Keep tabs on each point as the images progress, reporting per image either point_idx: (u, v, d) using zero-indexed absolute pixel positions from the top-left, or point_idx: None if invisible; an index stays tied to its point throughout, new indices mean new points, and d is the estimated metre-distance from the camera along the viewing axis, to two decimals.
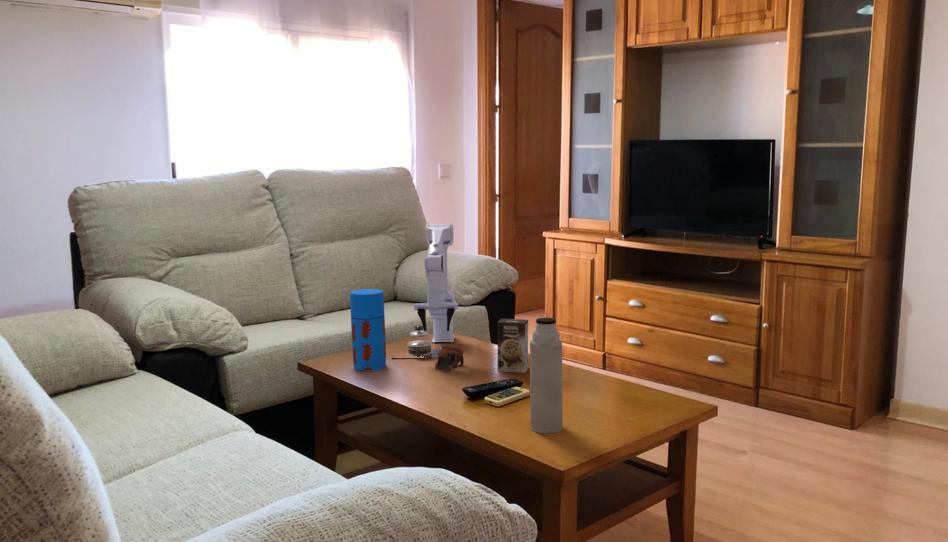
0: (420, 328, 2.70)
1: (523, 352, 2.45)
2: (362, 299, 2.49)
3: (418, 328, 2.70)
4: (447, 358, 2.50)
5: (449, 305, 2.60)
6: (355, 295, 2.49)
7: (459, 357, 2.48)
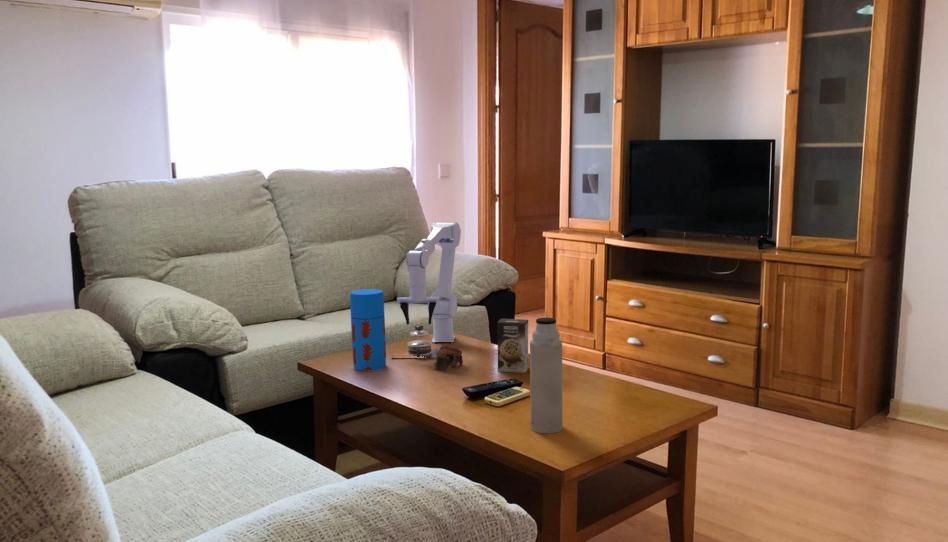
0: (420, 328, 2.70)
1: (523, 352, 2.45)
2: (362, 299, 2.49)
3: (418, 328, 2.70)
4: (446, 358, 2.50)
5: (431, 299, 2.69)
6: (355, 295, 2.49)
7: (458, 357, 2.48)
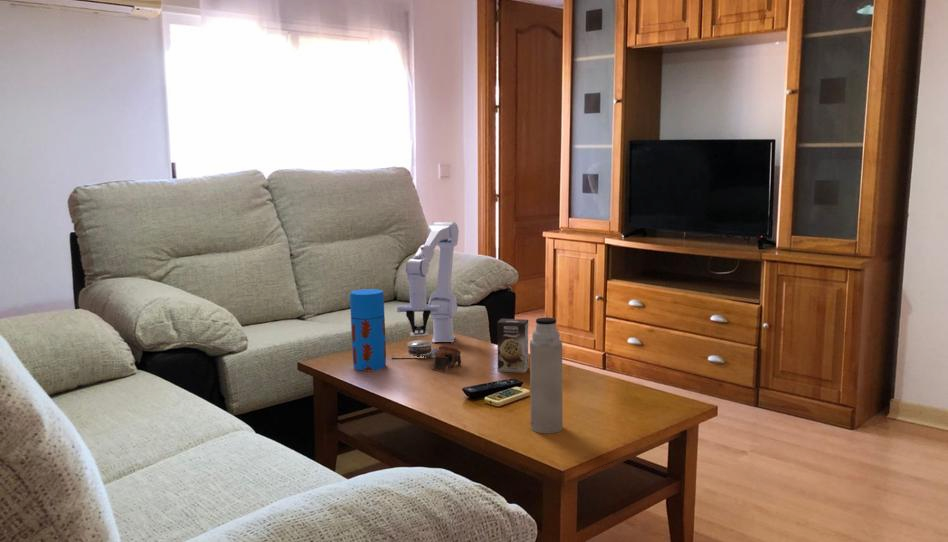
0: (420, 328, 2.70)
1: (523, 352, 2.45)
2: (362, 299, 2.49)
3: (418, 328, 2.70)
4: (444, 358, 2.50)
5: (431, 307, 2.69)
6: (355, 295, 2.49)
7: (456, 357, 2.48)
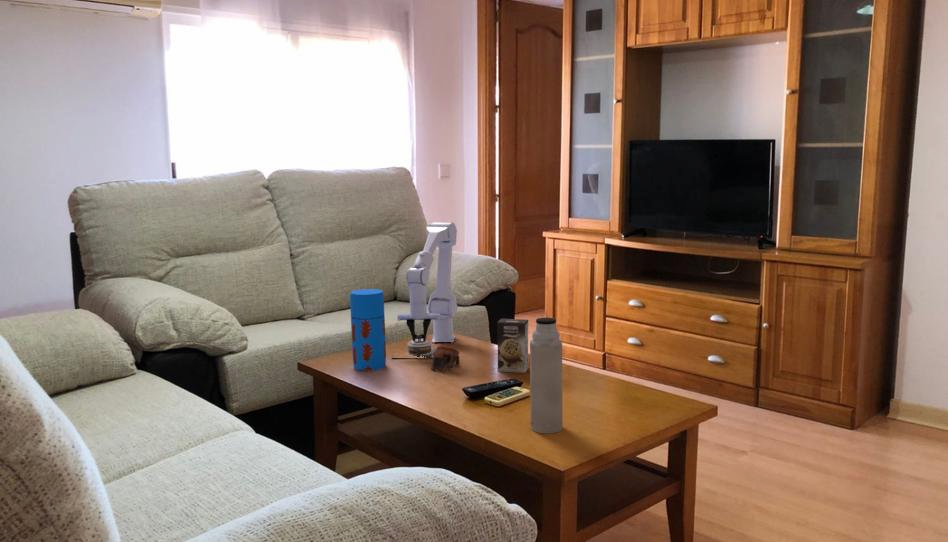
0: (420, 336, 2.70)
1: (523, 352, 2.45)
2: (362, 299, 2.49)
3: (418, 336, 2.70)
4: (443, 358, 2.50)
5: (431, 316, 2.69)
6: (355, 295, 2.49)
7: (455, 357, 2.48)
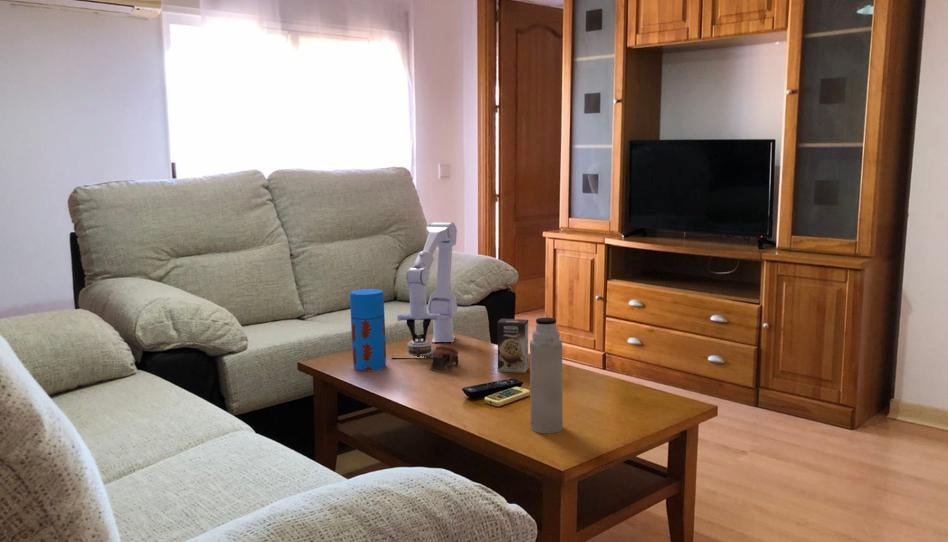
0: (420, 336, 2.70)
1: (523, 352, 2.45)
2: (362, 299, 2.49)
3: (418, 336, 2.70)
4: (442, 358, 2.50)
5: (431, 316, 2.69)
6: (355, 295, 2.49)
7: (454, 357, 2.48)
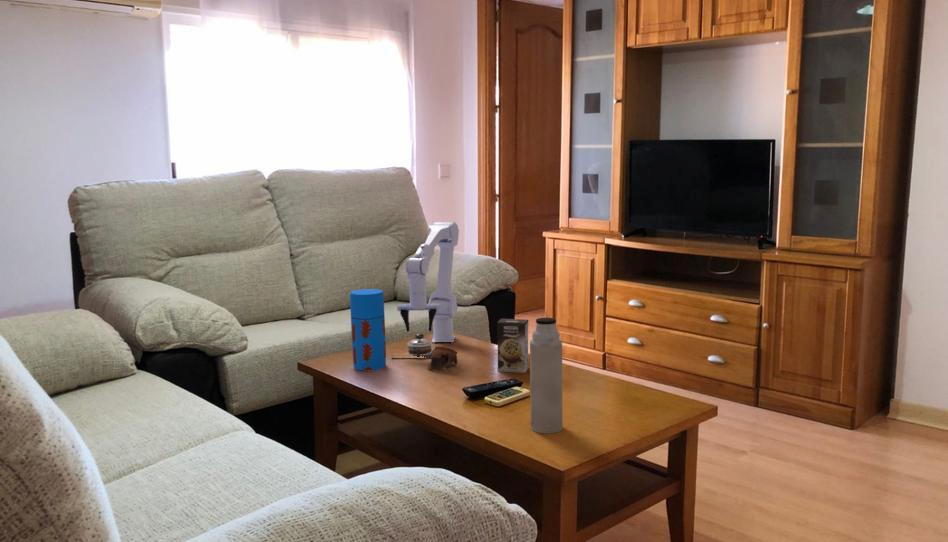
0: (420, 336, 2.70)
1: (523, 352, 2.45)
2: (362, 299, 2.49)
3: (418, 336, 2.70)
4: (441, 358, 2.50)
5: (431, 306, 2.69)
6: (355, 295, 2.49)
7: (453, 357, 2.48)
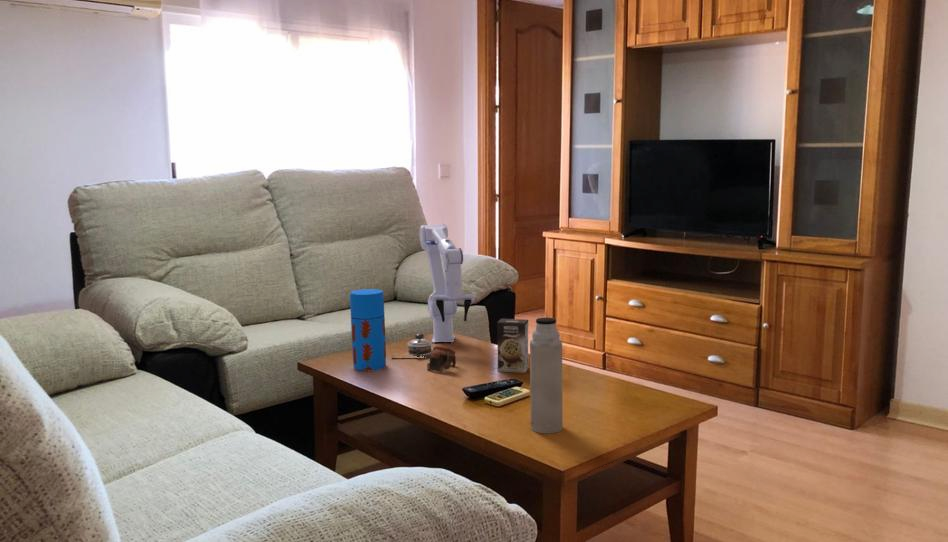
0: (420, 336, 2.70)
1: (523, 352, 2.45)
2: (362, 299, 2.49)
3: (418, 336, 2.70)
4: (439, 358, 2.50)
5: (466, 296, 2.73)
6: (355, 295, 2.49)
7: (451, 357, 2.48)
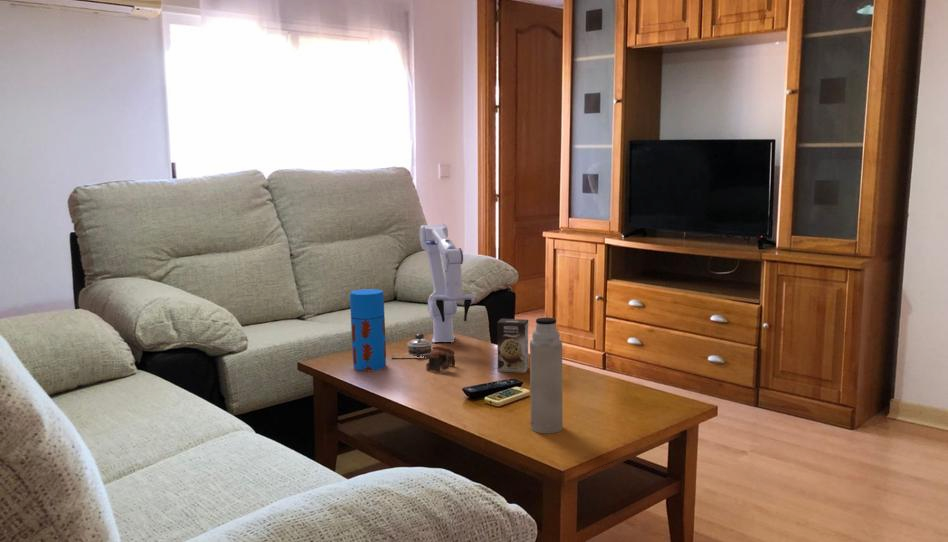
0: (420, 336, 2.70)
1: (523, 352, 2.45)
2: (362, 299, 2.49)
3: (418, 336, 2.70)
4: (438, 359, 2.50)
5: (466, 296, 2.73)
6: (355, 295, 2.49)
7: (451, 357, 2.48)
